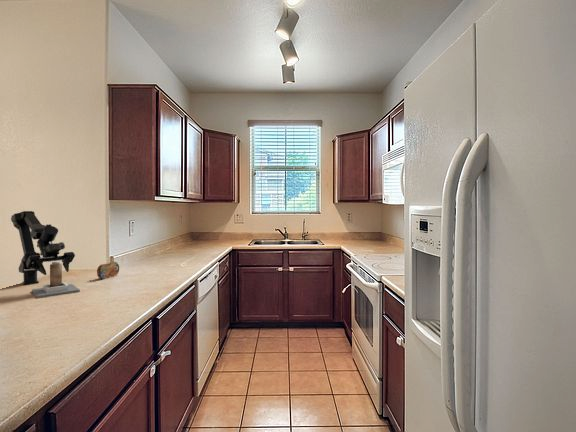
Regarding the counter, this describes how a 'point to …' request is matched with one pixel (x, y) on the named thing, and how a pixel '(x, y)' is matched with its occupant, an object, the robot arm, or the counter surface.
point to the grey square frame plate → (55, 290)
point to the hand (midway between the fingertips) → (57, 273)
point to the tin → (108, 270)
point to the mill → (55, 274)
